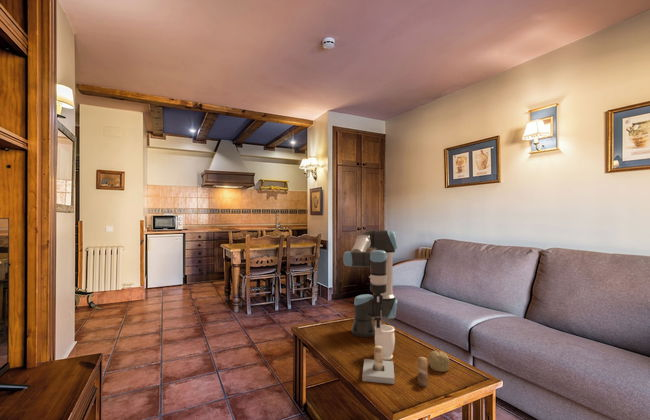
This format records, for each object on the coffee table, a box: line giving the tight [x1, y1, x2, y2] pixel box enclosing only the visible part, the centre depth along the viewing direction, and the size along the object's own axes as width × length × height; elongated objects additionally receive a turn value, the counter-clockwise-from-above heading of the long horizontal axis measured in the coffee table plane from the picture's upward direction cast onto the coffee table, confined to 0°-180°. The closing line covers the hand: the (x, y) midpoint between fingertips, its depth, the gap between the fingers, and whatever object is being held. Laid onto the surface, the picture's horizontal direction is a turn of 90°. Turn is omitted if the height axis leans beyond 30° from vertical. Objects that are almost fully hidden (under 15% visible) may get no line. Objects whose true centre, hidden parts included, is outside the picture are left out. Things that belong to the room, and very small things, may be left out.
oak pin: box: [417, 356, 428, 373], centre depth 140 cm, size 4×4×8 cm
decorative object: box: [428, 350, 450, 373], centre depth 148 cm, size 9×10×10 cm
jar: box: [374, 324, 396, 361], centre depth 160 cm, size 11×10×15 cm
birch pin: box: [373, 345, 383, 371], centre depth 142 cm, size 4×4×12 cm
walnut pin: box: [417, 370, 429, 388], centre depth 133 cm, size 4×4×5 cm
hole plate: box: [361, 358, 395, 385], centre depth 142 cm, size 16×14×2 cm
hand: (378, 328), depth 143 cm, fingers open, 13 cm apart
